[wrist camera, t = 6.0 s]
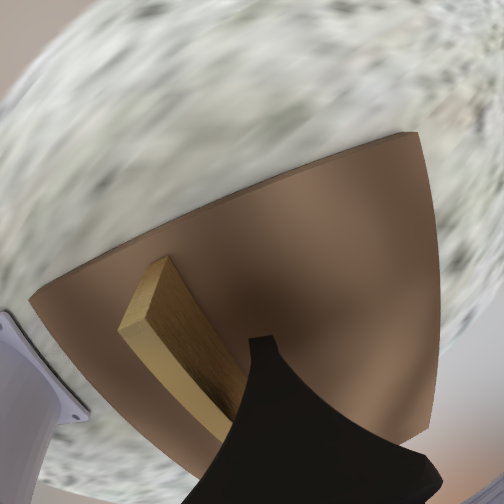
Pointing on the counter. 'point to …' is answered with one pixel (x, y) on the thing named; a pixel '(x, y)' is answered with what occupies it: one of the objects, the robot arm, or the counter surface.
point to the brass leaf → (183, 348)
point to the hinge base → (281, 295)
